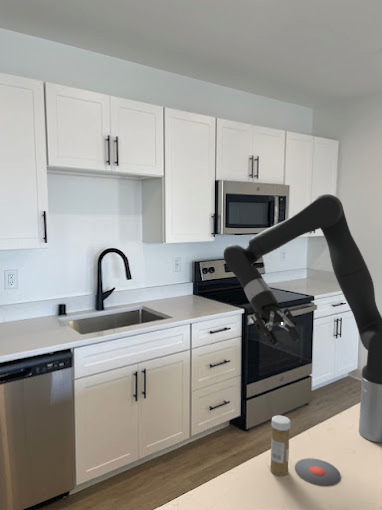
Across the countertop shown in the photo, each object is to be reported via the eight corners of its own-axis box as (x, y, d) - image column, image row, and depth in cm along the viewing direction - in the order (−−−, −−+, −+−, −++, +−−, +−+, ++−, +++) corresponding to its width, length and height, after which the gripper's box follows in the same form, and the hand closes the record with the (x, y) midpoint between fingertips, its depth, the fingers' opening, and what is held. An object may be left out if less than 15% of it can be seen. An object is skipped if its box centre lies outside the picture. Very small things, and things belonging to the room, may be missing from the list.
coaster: (314, 454, 105) (314, 453, 105) (350, 476, 95) (350, 476, 95) (285, 466, 99) (285, 466, 99) (321, 491, 89) (321, 491, 89)
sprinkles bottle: (292, 472, 96) (294, 420, 95) (279, 478, 94) (281, 425, 93) (278, 463, 100) (280, 413, 99) (265, 469, 98) (267, 417, 97)
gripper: (249, 290, 113) (276, 338, 104) (283, 288, 121) (311, 332, 112) (237, 305, 118) (261, 352, 109) (270, 302, 126) (296, 345, 117)
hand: (287, 342), depth 111 cm, fingers open, 8 cm apart
